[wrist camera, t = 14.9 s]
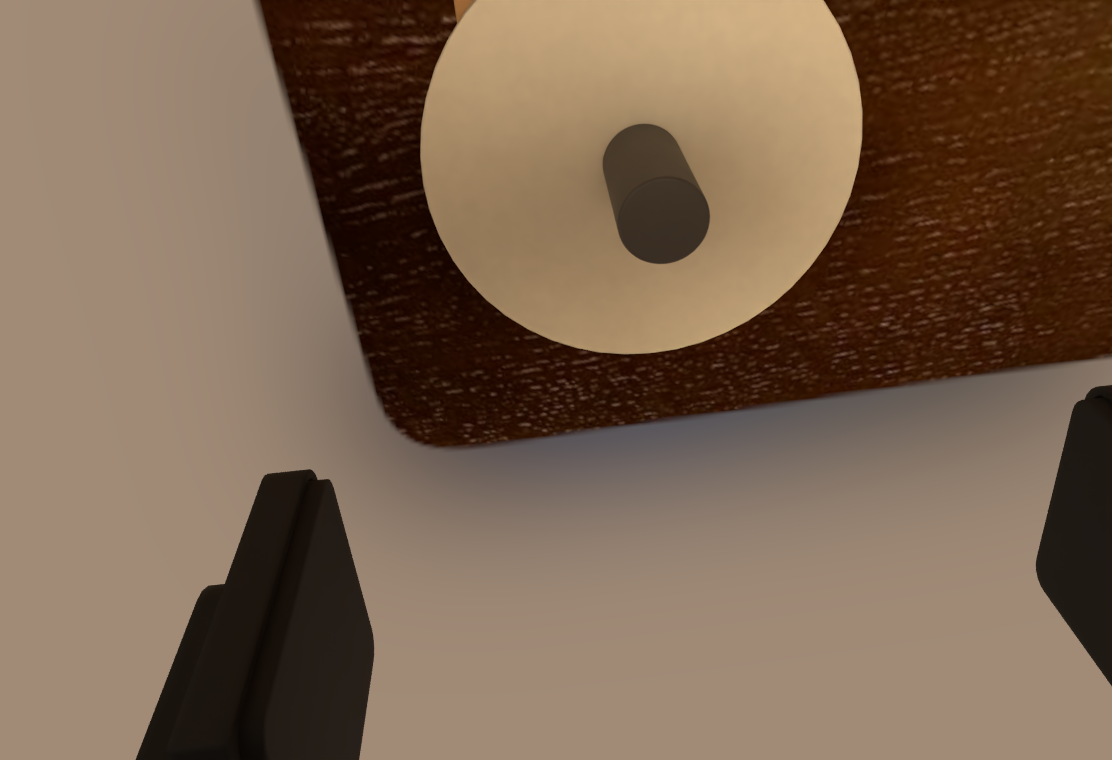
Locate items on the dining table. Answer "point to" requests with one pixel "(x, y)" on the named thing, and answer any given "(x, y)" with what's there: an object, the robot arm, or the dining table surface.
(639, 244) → the lid
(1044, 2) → the dining table surface
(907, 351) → the dining table surface
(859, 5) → the dining table surface
